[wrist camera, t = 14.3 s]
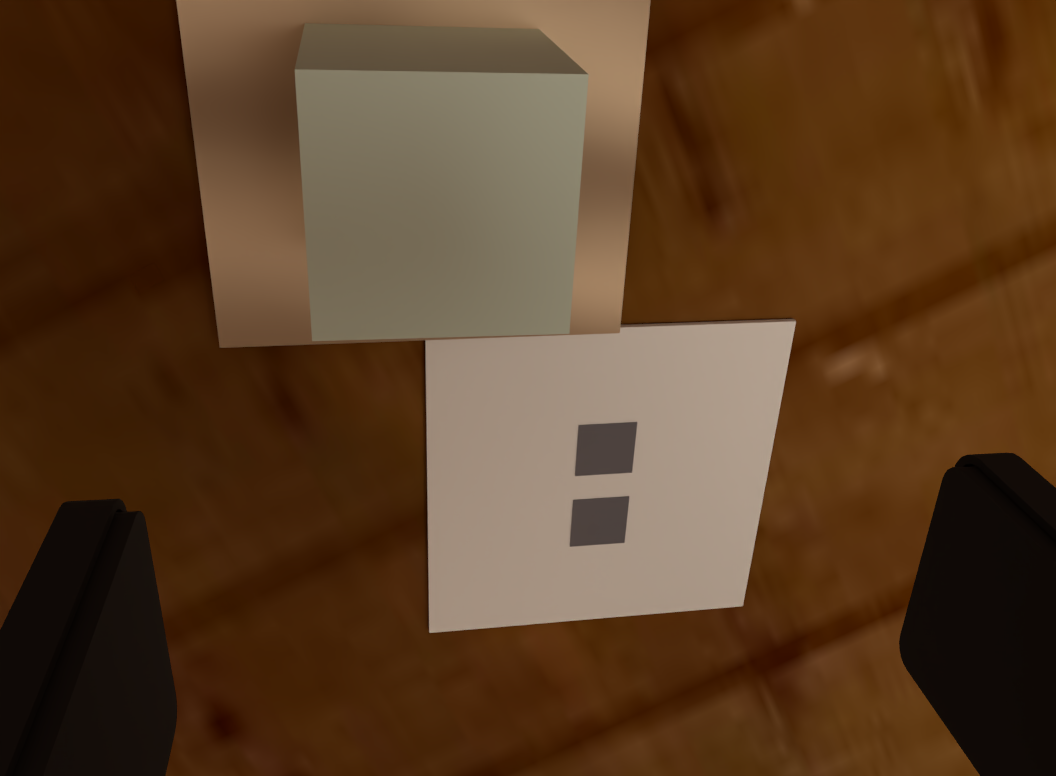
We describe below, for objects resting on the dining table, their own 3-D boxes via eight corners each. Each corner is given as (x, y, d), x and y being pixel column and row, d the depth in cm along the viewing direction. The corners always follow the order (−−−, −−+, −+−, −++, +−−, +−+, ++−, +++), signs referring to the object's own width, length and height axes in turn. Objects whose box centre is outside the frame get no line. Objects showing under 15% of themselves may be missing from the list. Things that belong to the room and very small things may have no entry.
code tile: (741, 602, 37) (743, 606, 37) (428, 628, 36) (429, 633, 35) (793, 318, 32) (796, 321, 32) (424, 331, 30) (425, 335, 30)
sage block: (528, 245, 28) (569, 333, 23) (318, 248, 27) (312, 341, 22) (539, 28, 26) (588, 74, 20) (304, 23, 25) (294, 69, 19)
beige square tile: (614, 325, 31) (619, 333, 30) (222, 338, 29) (219, 347, 28) (652, -99, 25) (659, -98, 25) (165, -117, 23) (161, -116, 23)
